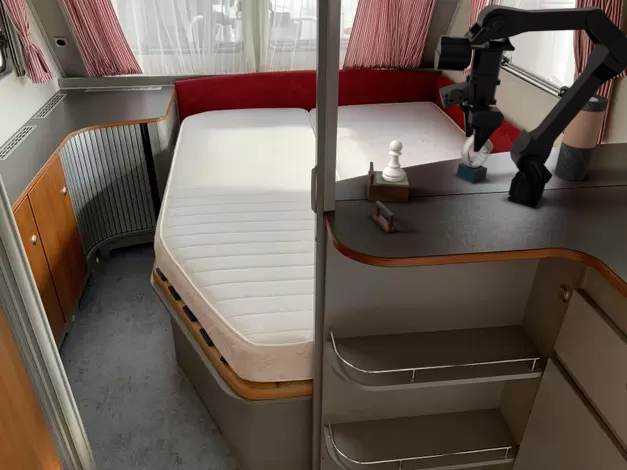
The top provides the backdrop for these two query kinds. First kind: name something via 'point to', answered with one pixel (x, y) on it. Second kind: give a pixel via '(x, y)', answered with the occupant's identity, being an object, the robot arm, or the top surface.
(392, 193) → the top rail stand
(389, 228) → the low rail
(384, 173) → the chess pawn
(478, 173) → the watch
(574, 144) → the travel mug
